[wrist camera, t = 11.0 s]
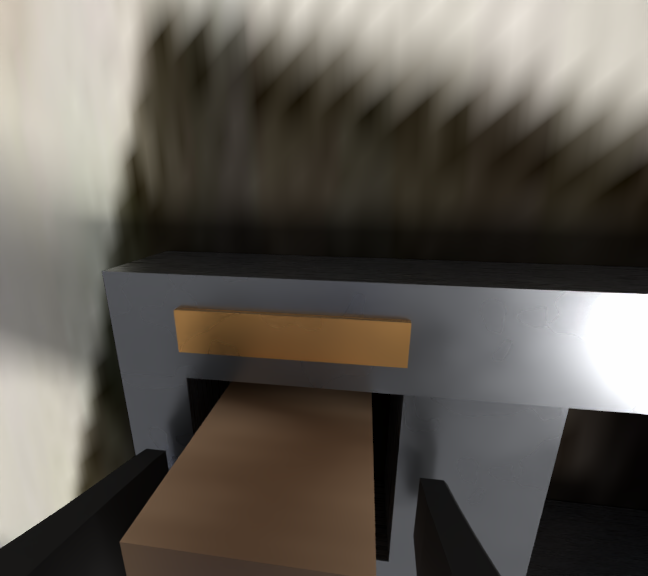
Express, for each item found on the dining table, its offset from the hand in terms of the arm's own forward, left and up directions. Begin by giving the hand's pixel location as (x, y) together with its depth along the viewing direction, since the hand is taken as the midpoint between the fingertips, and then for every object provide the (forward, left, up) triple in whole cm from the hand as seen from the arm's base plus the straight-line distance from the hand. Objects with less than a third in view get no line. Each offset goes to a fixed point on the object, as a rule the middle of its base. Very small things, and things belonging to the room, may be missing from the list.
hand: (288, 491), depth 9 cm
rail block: (+5, 0, -4) cm, 6 cm away
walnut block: (0, 0, -4) cm, 4 cm away
